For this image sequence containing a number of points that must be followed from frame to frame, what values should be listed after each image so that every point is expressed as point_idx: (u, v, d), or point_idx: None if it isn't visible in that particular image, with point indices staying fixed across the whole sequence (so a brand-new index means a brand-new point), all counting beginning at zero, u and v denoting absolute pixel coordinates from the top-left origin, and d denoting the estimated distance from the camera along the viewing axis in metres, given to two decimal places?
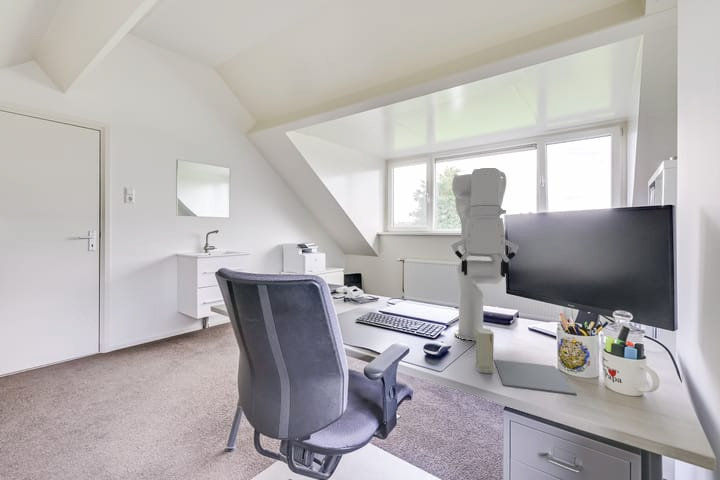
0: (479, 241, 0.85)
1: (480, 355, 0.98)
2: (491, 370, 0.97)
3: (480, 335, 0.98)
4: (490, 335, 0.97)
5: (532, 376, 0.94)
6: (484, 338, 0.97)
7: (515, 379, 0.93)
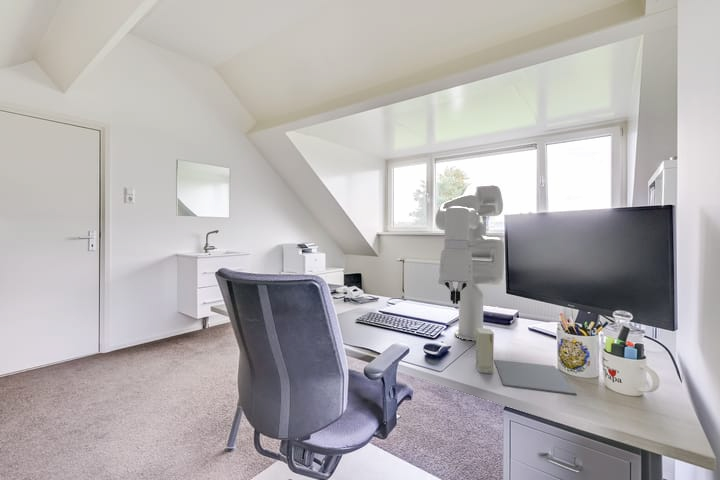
0: (451, 270, 1.00)
1: (480, 355, 0.98)
2: (491, 370, 0.97)
3: (480, 335, 0.98)
4: (490, 335, 0.97)
5: (532, 376, 0.94)
6: (484, 338, 0.97)
7: (515, 379, 0.93)
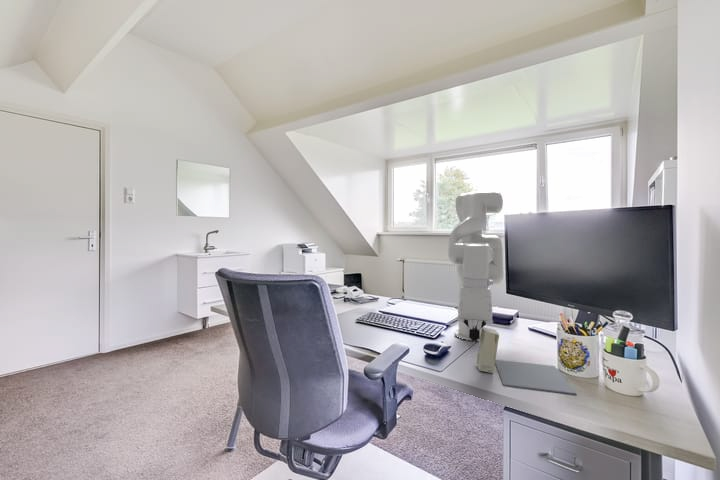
0: (470, 308, 0.99)
1: (483, 354, 0.97)
2: (492, 370, 0.97)
3: (485, 334, 0.97)
4: (496, 335, 0.97)
5: (532, 376, 0.94)
6: (489, 337, 0.97)
7: (515, 379, 0.93)
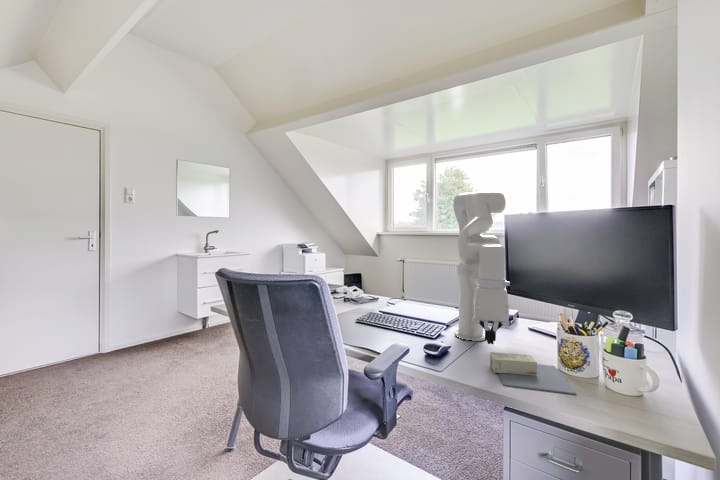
0: (486, 310, 0.98)
1: (512, 361, 0.96)
2: (497, 371, 0.97)
3: (534, 363, 0.95)
4: (535, 372, 0.95)
5: (532, 376, 0.94)
6: (531, 366, 0.95)
7: (515, 379, 0.93)
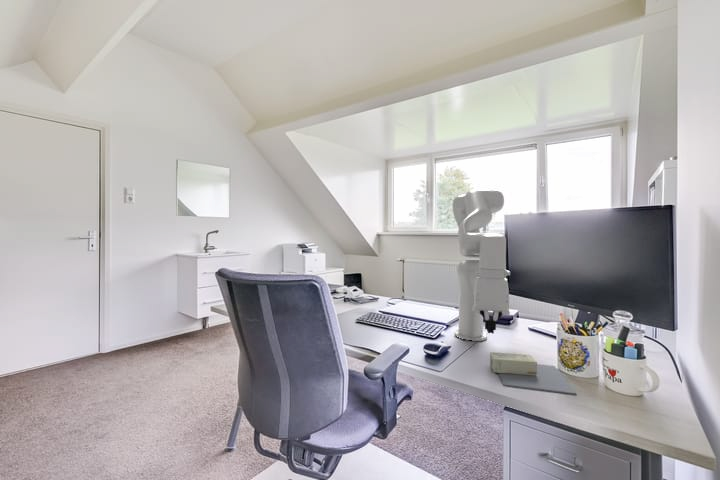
0: (486, 299, 0.98)
1: (512, 361, 0.96)
2: (497, 371, 0.97)
3: (534, 363, 0.95)
4: (535, 372, 0.95)
5: (532, 376, 0.94)
6: (531, 366, 0.95)
7: (515, 379, 0.93)
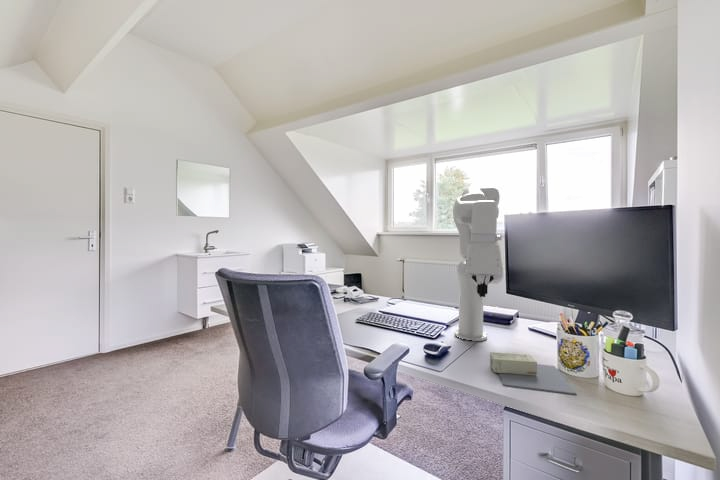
0: (478, 264, 1.01)
1: (512, 361, 0.96)
2: (497, 371, 0.97)
3: (534, 363, 0.95)
4: (535, 372, 0.95)
5: (532, 376, 0.94)
6: (531, 366, 0.95)
7: (515, 379, 0.93)
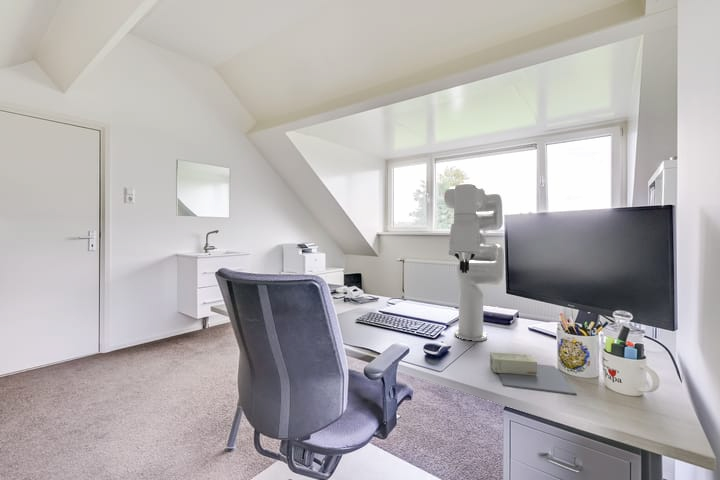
0: (460, 241, 1.09)
1: (512, 361, 0.96)
2: (497, 371, 0.97)
3: (534, 363, 0.95)
4: (535, 372, 0.95)
5: (532, 376, 0.94)
6: (531, 366, 0.95)
7: (515, 379, 0.93)
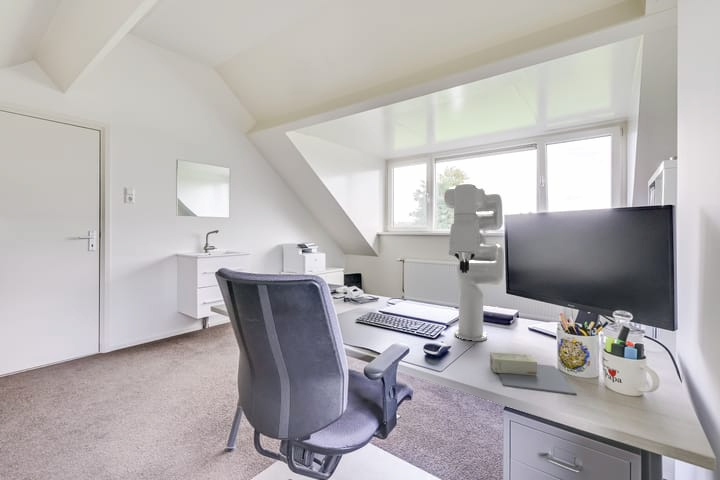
0: (460, 241, 1.09)
1: (512, 361, 0.96)
2: (497, 371, 0.97)
3: (534, 363, 0.95)
4: (535, 372, 0.95)
5: (532, 376, 0.94)
6: (531, 366, 0.95)
7: (515, 379, 0.93)
